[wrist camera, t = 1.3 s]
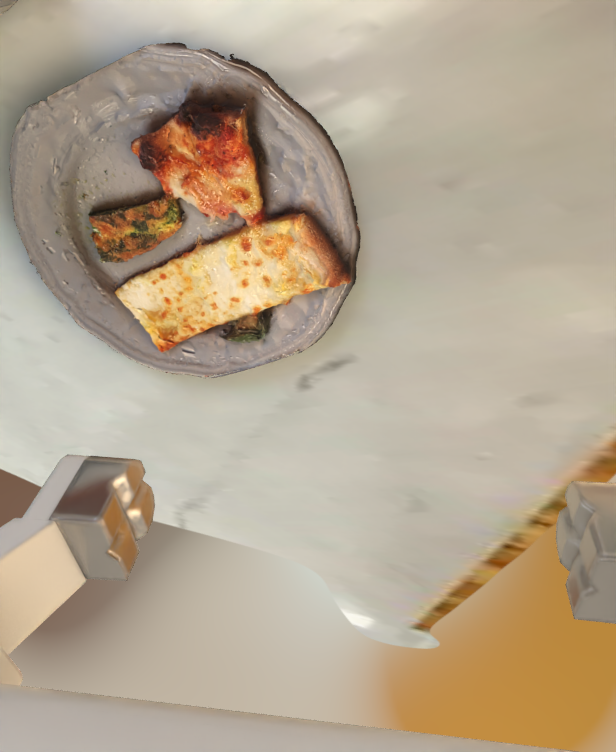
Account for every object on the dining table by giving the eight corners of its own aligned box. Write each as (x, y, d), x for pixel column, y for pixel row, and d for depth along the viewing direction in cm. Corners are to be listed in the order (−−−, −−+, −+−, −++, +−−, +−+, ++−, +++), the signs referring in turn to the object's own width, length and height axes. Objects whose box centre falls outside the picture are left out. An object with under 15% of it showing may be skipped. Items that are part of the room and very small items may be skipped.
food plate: (279, -26, 32) (267, -19, 29) (403, 311, 45) (403, 337, 42) (-37, 138, 41) (-68, 155, 38) (143, 381, 53) (128, 406, 51)
